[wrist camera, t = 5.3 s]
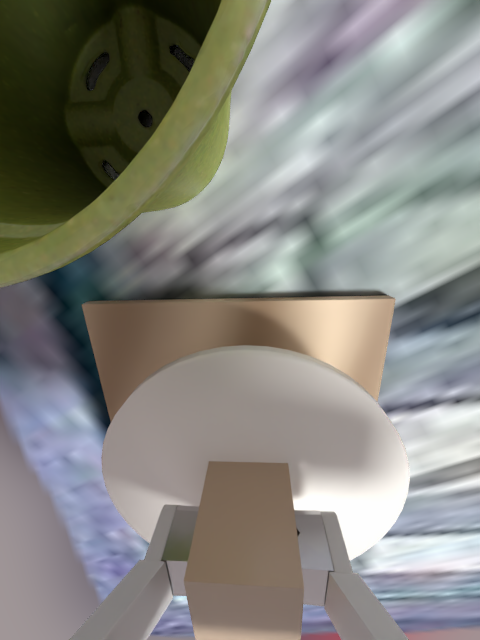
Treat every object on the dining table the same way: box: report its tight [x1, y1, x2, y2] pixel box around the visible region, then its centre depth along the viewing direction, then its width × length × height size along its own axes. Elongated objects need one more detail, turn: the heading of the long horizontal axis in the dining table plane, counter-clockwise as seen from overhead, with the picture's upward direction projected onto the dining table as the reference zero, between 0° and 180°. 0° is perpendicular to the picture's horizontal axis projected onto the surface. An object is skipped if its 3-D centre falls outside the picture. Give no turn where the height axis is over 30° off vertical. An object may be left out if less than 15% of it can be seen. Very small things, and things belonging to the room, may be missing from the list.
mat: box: [82, 296, 395, 422], centre depth 14 cm, size 14×14×1 cm
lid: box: [101, 345, 410, 640], centre depth 9 cm, size 12×12×4 cm
